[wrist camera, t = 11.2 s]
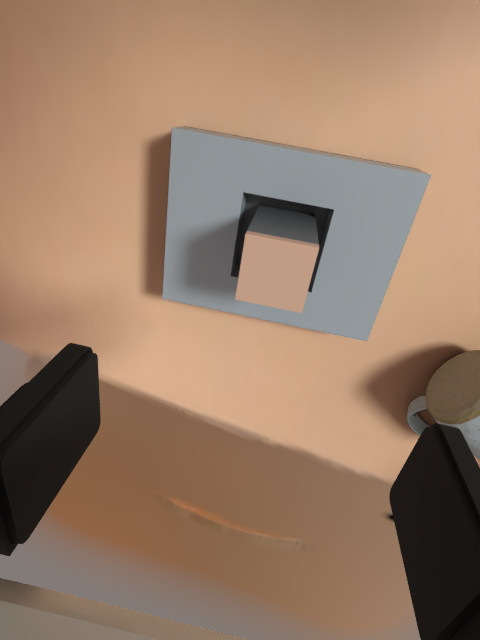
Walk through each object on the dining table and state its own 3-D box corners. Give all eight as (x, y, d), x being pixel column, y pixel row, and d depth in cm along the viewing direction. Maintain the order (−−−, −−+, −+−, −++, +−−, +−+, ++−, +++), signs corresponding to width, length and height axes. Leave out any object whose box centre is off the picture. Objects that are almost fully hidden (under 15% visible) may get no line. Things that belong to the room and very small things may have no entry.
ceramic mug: (479, 327, 30) (525, 387, 23) (545, 381, 31) (605, 451, 25) (382, 399, 35) (398, 465, 28) (442, 443, 36) (471, 515, 30)
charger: (314, 213, 27) (319, 247, 20) (302, 265, 29) (302, 312, 22) (260, 203, 27) (245, 233, 20) (251, 255, 29) (235, 299, 22)
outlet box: (417, 168, 25) (431, 175, 22) (361, 322, 31) (366, 341, 28) (185, 126, 26) (171, 127, 23) (173, 283, 32) (162, 298, 29)
